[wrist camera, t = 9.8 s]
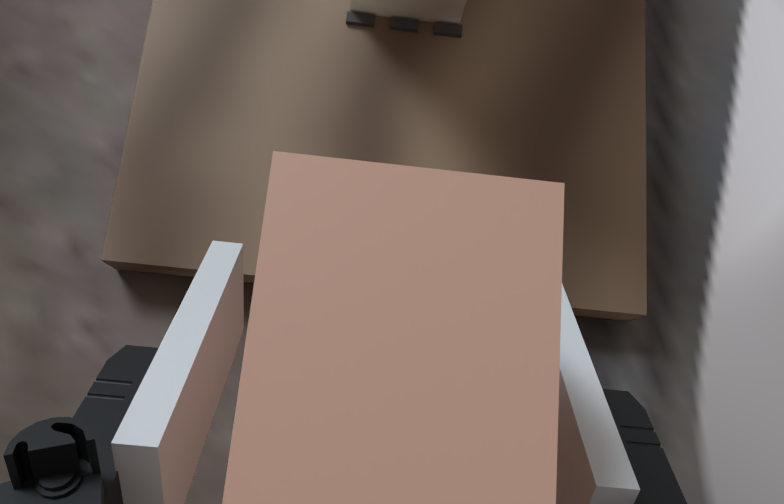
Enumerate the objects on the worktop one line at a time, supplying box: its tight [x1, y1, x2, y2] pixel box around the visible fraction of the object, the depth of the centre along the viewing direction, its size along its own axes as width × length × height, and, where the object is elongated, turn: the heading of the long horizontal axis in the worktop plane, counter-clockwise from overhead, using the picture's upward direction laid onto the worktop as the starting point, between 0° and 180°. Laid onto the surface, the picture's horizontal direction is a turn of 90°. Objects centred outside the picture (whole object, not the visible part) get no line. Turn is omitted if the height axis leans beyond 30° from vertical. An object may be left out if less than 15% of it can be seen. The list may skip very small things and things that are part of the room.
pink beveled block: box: [222, 151, 565, 504], centre depth 14 cm, size 4×8×12 cm, turn 175°
